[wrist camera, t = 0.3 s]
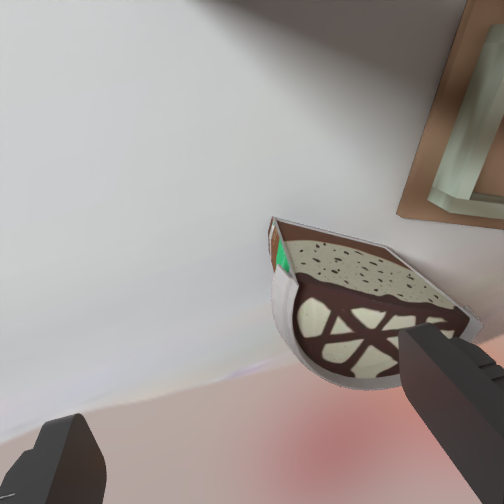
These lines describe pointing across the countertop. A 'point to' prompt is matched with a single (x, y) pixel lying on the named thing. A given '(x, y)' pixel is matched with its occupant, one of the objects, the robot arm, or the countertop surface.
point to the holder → (464, 130)
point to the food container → (352, 304)
